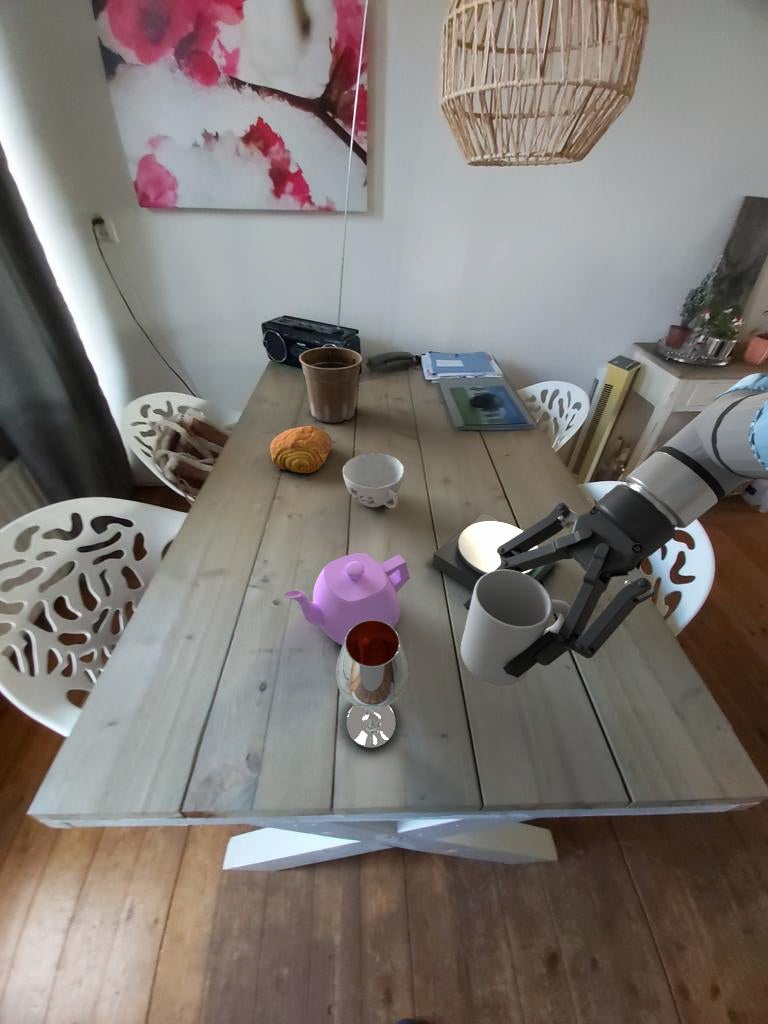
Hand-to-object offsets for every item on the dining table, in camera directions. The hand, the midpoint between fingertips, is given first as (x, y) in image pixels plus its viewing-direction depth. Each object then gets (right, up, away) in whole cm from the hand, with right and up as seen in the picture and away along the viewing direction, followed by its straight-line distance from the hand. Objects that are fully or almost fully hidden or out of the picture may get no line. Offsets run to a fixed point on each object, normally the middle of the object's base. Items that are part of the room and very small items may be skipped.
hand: (489, 639), depth 52 cm
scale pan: (+8, +8, +26) cm, 29 cm away
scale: (+8, +5, +29) cm, 30 cm away
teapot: (-17, -2, +19) cm, 26 cm away
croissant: (-32, +28, +55) cm, 70 cm away
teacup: (-14, +17, +42) cm, 47 cm away
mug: (+3, -3, +3) cm, 5 cm away
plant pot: (-27, +43, +73) cm, 89 cm away
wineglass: (-14, -13, +6) cm, 20 cm away
